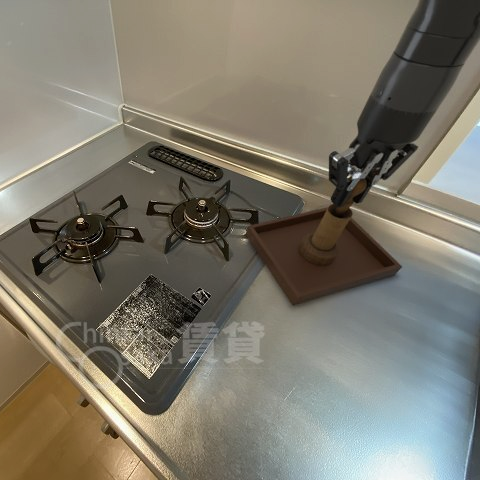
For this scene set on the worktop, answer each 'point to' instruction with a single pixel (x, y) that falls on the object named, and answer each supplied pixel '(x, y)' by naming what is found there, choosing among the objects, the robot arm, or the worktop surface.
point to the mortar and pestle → (329, 231)
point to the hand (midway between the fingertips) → (345, 201)
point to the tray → (311, 275)
